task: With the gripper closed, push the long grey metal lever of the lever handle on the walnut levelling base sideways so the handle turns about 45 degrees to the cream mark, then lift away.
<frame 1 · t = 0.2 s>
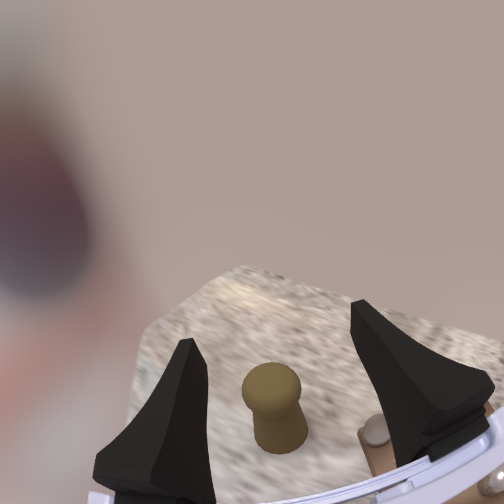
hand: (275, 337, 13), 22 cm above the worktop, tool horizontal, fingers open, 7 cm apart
cork: (281, 432, 28), on the worktop
lever handle: (484, 447, 16), point 3 cm above the worktop, hinge at 0.0°
levelling base: (451, 474, 17), on the worktop
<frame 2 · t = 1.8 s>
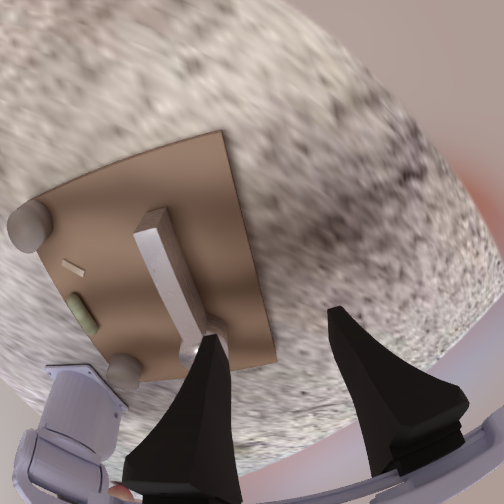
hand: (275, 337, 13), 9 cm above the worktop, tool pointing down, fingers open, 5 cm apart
lever handle: (184, 302, 19), point 3 cm above the worktop, hinge at 0.0°
levelling base: (154, 286, 22), on the worktop
decorative fruit: (121, 483, 55), on the worktop
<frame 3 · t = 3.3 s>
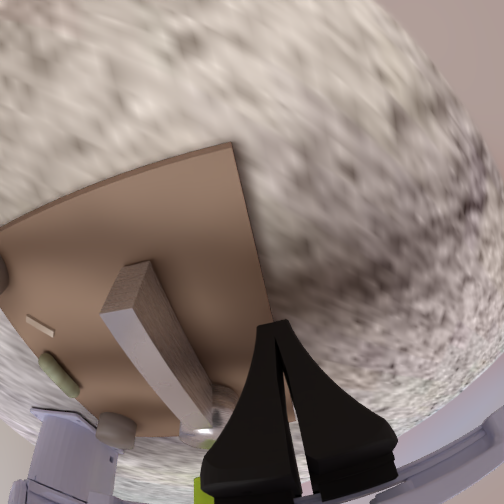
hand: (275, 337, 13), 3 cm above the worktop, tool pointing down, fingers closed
soap dispenser: (212, 480, 33), on the worktop
lever handle: (182, 380, 13), point 3 cm above the worktop, hinge at 0.0°
levelling base: (144, 346, 16), on the worktop
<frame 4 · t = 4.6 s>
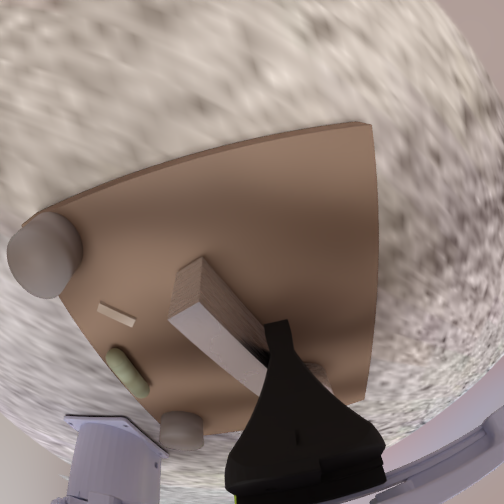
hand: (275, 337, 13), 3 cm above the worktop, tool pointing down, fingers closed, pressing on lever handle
lever handle: (267, 367, 14), point 3 cm above the worktop, hinge at 19.6°, touching gripper
levelling base: (233, 331, 16), on the worktop
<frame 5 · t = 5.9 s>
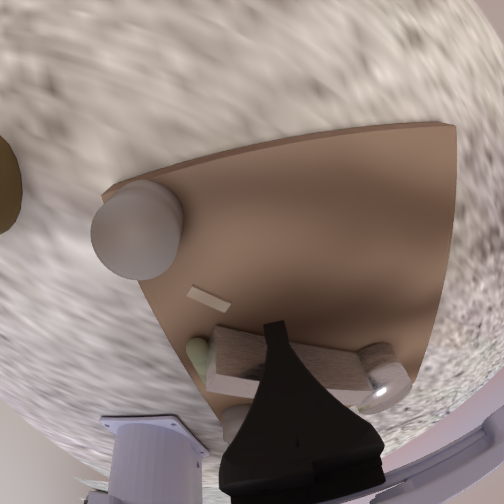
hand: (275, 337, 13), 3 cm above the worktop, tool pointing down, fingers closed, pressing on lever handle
lever handle: (322, 375, 14), point 3 cm above the worktop, hinge at 55.4°, touching gripper, levelling base
dark rounded piece: (107, 493, 40), on the worktop
levelling base: (316, 315, 16), on the worktop
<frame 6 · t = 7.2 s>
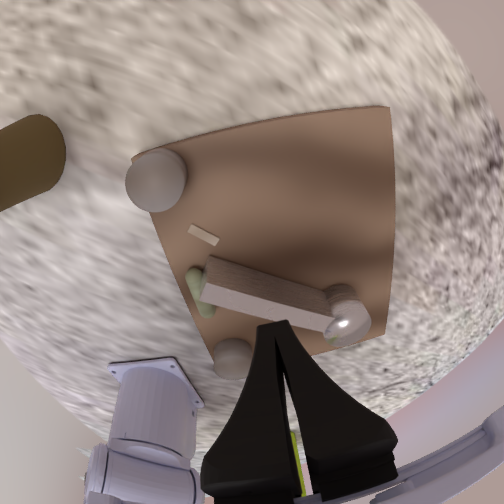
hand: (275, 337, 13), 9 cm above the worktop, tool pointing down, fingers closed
cork: (35, 154, 16), on the worktop
lever handle: (291, 302, 19), point 3 cm above the worktop, hinge at 54.8°, touching levelling base
levelling base: (288, 258, 21), on the worktop
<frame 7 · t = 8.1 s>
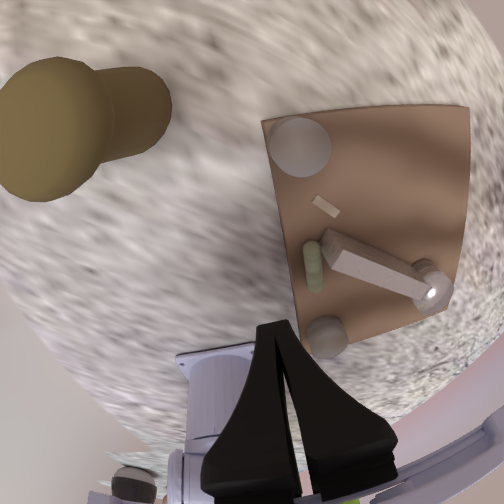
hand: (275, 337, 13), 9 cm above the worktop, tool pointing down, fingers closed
cork: (127, 111, 16), on the worktop
lever handle: (395, 273, 19), point 3 cm above the worktop, hinge at 54.8°, touching levelling base
dark rounded piece: (136, 469, 46), on the worktop
levelling base: (383, 234, 21), on the worktop
decorative fruit: (178, 487, 55), on the worktop
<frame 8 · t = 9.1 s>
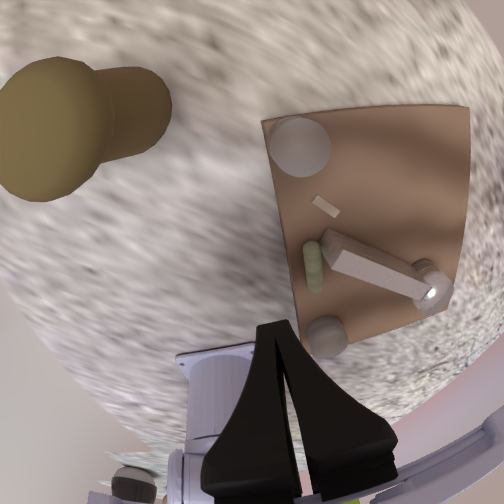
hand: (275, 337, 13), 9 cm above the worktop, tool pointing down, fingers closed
cork: (127, 111, 16), on the worktop
lever handle: (395, 273, 19), point 3 cm above the worktop, hinge at 54.8°, touching levelling base
dark rounded piece: (136, 469, 46), on the worktop
levelling base: (383, 234, 21), on the worktop
decorative fruit: (178, 487, 55), on the worktop
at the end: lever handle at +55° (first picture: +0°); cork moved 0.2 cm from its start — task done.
